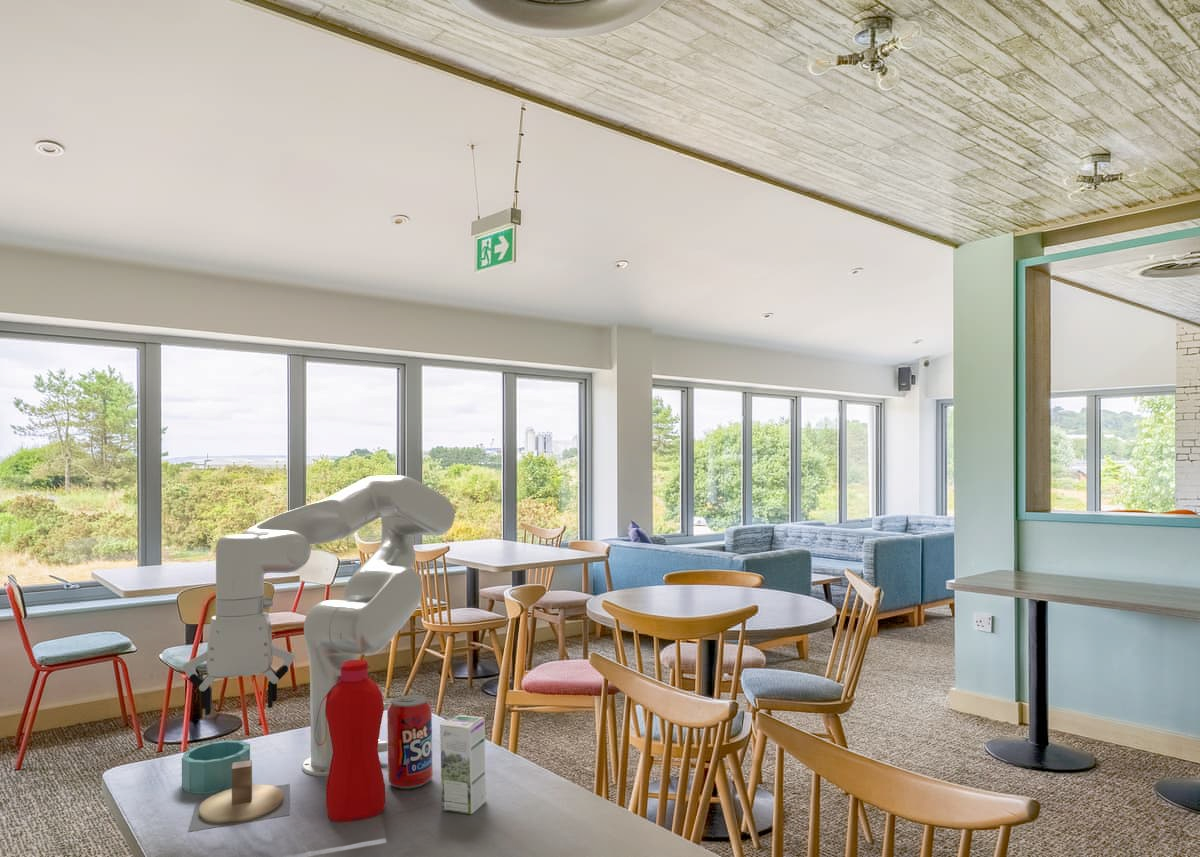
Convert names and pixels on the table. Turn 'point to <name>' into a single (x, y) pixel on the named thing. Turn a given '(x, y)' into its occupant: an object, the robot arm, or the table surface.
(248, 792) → the lid
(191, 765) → the bowl
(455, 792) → the syrup box
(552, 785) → the table surface
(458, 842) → the table surface
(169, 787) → the table surface
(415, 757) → the soda can
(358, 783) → the water bottle
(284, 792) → the mat
